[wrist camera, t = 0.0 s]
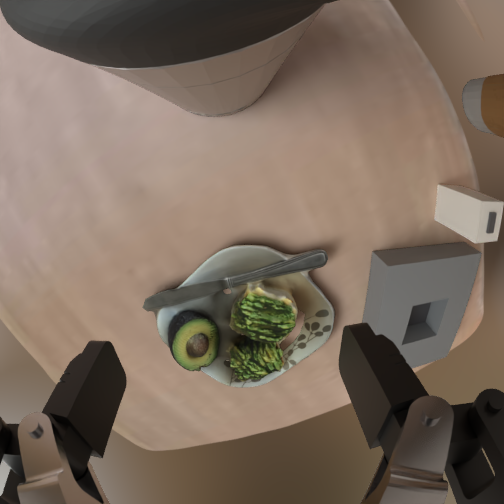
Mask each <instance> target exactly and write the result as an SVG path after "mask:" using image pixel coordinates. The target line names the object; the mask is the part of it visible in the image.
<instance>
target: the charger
mask: <svg viewBox="0 0 504 504" xmlns="http://www.w3.org/2000/svg"><path fill="white" fill-rule="evenodd" d="M503 204H504V202H502V201H500V200H498V199H495V198H493V197H490V196H488V195H485V194H483V193H480V192H477V191H475V190H472V189H469V188H467V187H464V186H460V185H442V184H438V189H437V201H436V210H435V219H434V220H435V221H437V222H439V223H441V224H443V225H444V226H446V227H448V228H450V229H452V230H453V231H455V232H457V233H458V234H460V235H462V236H463V237H465V238H467V239H468V240H470V241H472V242H473V243H475V244H476V243H484V242H492V241H497V239H498V234H499V229H500V224H501V218H502V211H503Z"/></svg>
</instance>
